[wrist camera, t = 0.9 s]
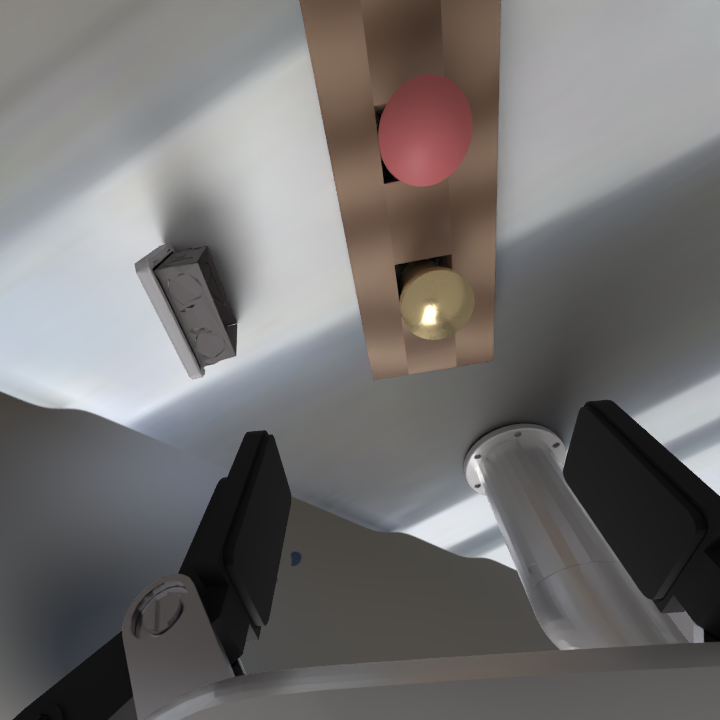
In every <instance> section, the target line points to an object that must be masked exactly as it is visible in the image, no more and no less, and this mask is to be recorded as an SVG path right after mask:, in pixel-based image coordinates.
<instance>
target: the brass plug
mask: <svg viewBox="0 0 720 720" xmlns="http://www.w3.org/2000/svg"><path fill="white" fill-rule="evenodd" d="M400 286H401V289H402V293H401V296H400V302H399V306H400V312H401V315H402V318H403V321H404V323H405V325H406V327H407V328H408V329H409V330H410V331H411V332H412V333H413V334H415V335H416V336H418V337H421V338H424V339H429V340H437V339H443V338H446V337H449V336H451V335H453V334H455V333H456V332H458V331H459V330H460V329H462V328H463V327H464V326H465V324H466V323H467V322H468V320H469V319H470V317H471V315H472V312H473V308H474V294H473V290H472V288H471V286H470V284H469V283H468V282H467V281H466V279H465V278H463V277H462V276H461V275H460V274H459V273H458V272H456V271H455V270H453V269H450V268H447V267H439V266H438V265H437V264H436V263H435V262H434V261H432V260H429V259H423V260H418V261H413V262H411V263H410V264H408V265H407V266H406V267H405V269H404V270H403V272H402V274H401V277H400Z"/></svg>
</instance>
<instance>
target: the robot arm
mask: <svg viewBox="0 0 720 720" xmlns="http://www.w3.org/2000/svg"><path fill="white" fill-rule="evenodd" d="M565 459H566V460H565ZM564 462H565V464H564ZM563 465H564V467H563ZM464 473H465V476H466V479H467V481H468V483H469V484H470V486H471V487H472V488H473V489H474V490H475V491H477V492H479V493H480V494H482V495H485V496H487V498H488V501H489V503H490V506H491V508H492V511H493V513H494V515H495V518H496V520H497V523H498V525H499V528H500V530H501V533H502V535H503V537H504V540H505V542H506V545H507V547H508V550H509V552H510V554H511V557H512V559H513V562H514V564H515V567H516V569H517V571H518V574H519V576H520V579H521V581H522V584H523V586H524V588H525V591H526V593H527V596H528V598H529V600H530V603H531V605H532V607H533V610H534V612H535V615H536V617H537V619H538V621H539V623H540V625H541V627H542V628H543V630H544V631H545V633H546V634H547V635H548V637H549V638H550V640H551V641H552V642H553V643H554V644H555V645H556V646H557V647H558V648H559V649H560V650H558V651H543V652H526V653H511V654H495V655H478V656H463V657H447V658H432V659H418V660H403V661H388V662H374V663H360V664H344V665H333V666H321V667H310V668H298V669H287V670H276V671H268V672H261V673H255V674H248V675H246V673H245V671H244V668H243V666H242V664H241V662H240V659H239V657H240V656H241V655H242V654H243V650H244V646H245V642H246V641H248V640H259V635H260V630H261V626H265V625H266V624H267V623H268V620H269V616H270V611H271V606H272V600H273V595H274V590H275V585H276V579H277V574H278V569H279V563H280V558H281V553H282V548H283V542H284V537H285V532H286V526H287V522H288V516H289V511H290V506H291V492H290V489H289V485H288V482H287V479H286V475H285V472H284V469H283V465H282V462H281V459H280V455H279V452H278V449H277V445H276V442H275V439H274V436H273V435H268V433H267V431H265V430H264V431H252V432H247V433H246V434H245V436H244V438H243V441H242V443H241V446H240V448H239V450H238V453H237V455H236V458H235V460H234V462H233V465H232V467H231V470H230V472H229V475H228V477H225V478H222V479H221V480H220V481H219V482H218V484H217V486H216V488H215V491H214V493H213V495H212V497H211V500H210V502H209V505H208V507H207V509H206V511H205V514H204V516H203V518H202V521H201V523H200V525H199V527H198V529H197V532H196V534H195V536H194V539H193V541H192V543H191V545H190V548H189V550H188V553H187V555H186V557H185V559H184V562H183V564H182V566H181V568H180V571H179V573H178V574H171V575H168V576H164V577H162V578H160V579H159V580H156V581H155V582H153V583H152V584H150V585H149V586H148V587H147V588H146V589H144V590H143V591H142V592H141V593H140V594H139V596H138V597H137V598H136V599H135V600H134V601H133V603H132V605H131V606H130V608H129V610H128V611H127V613H126V616H125V619H124V622H123V625H122V631H121V632H120V633H119V634H117V635H116V636H115V637H114V638H113V639H111V640H110V641H109V642H108V643H106V644H105V645H104V646H103V647H101V648H100V649H99V650H97V651H96V652H95V653H94V654H92V655H91V656H90V657H89V658H87V659H86V660H85V661H84V662H83V663H81V664H80V665H79V666H77V667H76V668H75V669H74V670H73V671H71V672H70V673H69V674H67V675H66V676H65V677H64V678H63V679H61V680H60V681H59V682H58V683H56V684H55V685H54V686H53V687H51V688H50V689H49V690H48V691H46V692H45V693H44V694H43V695H41V696H40V697H39V698H38V699H36V700H35V701H34V702H33V703H31V704H30V705H29V706H28V707H26V708H25V709H24V710H23V711H22V712H21V713H20V714H18V715H17V716H16V717H15V718H14V719H13V720H720V496H719V495H718V494H717V493H715V492H714V491H713V490H712V489H711V488H710V487H709V486H708V485H706V484H705V483H704V482H703V481H702V480H701V479H700V478H699V477H697V476H696V475H695V474H694V473H693V472H692V471H691V470H690V469H688V468H687V467H686V466H685V465H684V464H683V463H682V462H681V461H679V460H678V459H677V458H676V457H675V456H674V455H673V454H672V453H670V452H669V451H668V450H667V449H666V448H665V447H664V446H663V445H662V444H660V443H659V442H658V441H657V440H656V439H655V438H654V437H653V436H651V435H650V434H649V433H648V432H647V431H646V430H645V429H644V428H642V427H641V426H640V425H639V424H638V423H637V422H636V421H635V420H633V419H632V418H631V417H630V416H629V415H628V414H627V413H626V412H624V411H623V410H622V409H621V408H620V407H619V406H618V405H617V404H615V403H614V402H613V401H611V400H601V401H590V402H587V403H586V404H585V406H584V407H582V408H580V410H579V413H578V417H577V421H576V424H575V428H574V431H573V435H572V439H571V442H570V446H569V449H568V453H567V457H566V450H565V447H564V444H563V443H562V441H561V440H560V439H559V437H558V436H557V435H556V434H555V433H554V432H553V431H551V430H550V429H548V428H546V427H543V426H540V425H535V424H515V425H509V426H506V427H502V428H499V429H497V430H494V431H492V432H490V433H489V434H487V435H485V436H484V437H482V438H481V439H480V440H479V441H477V442H476V443H475V444H474V445H473V446H472V448H471V449H470V450H469V452H468V454H467V455H466V458H465V461H464ZM684 611H686V612H687V613H688V615H689V616H690V617H691V619H692V620H693V621H694V643H690V642H689V641H688V640H687V639H686V637H685V636H684V635H683V633H682V632H681V631H680V629H679V628H678V627H677V625H676V624H675V623H674V621H673V620H672V619H671V617H670V616H669V615H668V613H673V612H684Z"/></svg>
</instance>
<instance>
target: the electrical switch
mask: <svg viewBox="0 0 720 720" xmlns="http://www.w3.org/2000/svg"><path fill="white" fill-rule="evenodd" d="M208 264H209V265H208ZM135 269H136V273H137V275H138V277H139V279H140V281H141V283H142V285H143V287H144V289H145V291H146V293H147V295H148V297H149V299H150V301H151V303H152V305H153V307H154V309H155V311H156V312H157V314H158V316H159V318H160V320H161V322H162V324H163V326H164V328H165V330H166V332H167V334H168V336H169V338H170V340H171V342H172V344H173V346H174V348H175V350H176V352H177V354H178V356H179V358H180V360H181V362H182V364H183V366H184V367H185V369H186V371H187V373H188V375H189V377H190V378H191V379H197V378H201V377H203V376H204V374H205V370H204V367H205V366H207V365H212V364H215V363H217V362H219V361H221V360H224V359H227V358H231V357H234V356H236V345H237V324H236V320H235V317H234V315H233V312H232V310H231V307H230V305H229V302H228V299H227V297H226V294H225V292H224V289H223V287H222V284H221V282H220V279H219V276H218V274H217V271H216V269H215V266H214V264H213V261H212V258H211V256H210V253H209V251H208V248H207V246H204V247H200V248H196V249H192V248H188V249H186V250H182V251H177V252H175V249H174V247H173V246H172V245H171V243H168V244H165V245H161V246H159V247H158V248H156V249H155V250H153V251H152V252H151V253H149V254H148V255H146V256H145V257H144V258H142V259H141V260H139V261H138V262H137V263H135ZM210 275H211V277H210ZM207 280H208V281H207ZM206 281H207V282H206ZM214 299H215V300H214ZM224 304H225V305H224ZM223 317H224V318H223ZM233 324H235V325H233ZM229 325H231V326H229Z"/></svg>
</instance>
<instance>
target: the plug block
mask: <svg viewBox="0 0 720 720" xmlns="http://www.w3.org/2000/svg"><path fill="white" fill-rule="evenodd" d="M300 6H301V11H302V16H303V21H304V26H305V31H306V36H307V42H308V47H309V52H310V57H311V62H312V67H313V72H314V78H315V83H316V88H317V93H318V98H319V103H320V108H321V114H322V119H323V124H324V129H325V134H326V139H327V144H328V150H329V155H330V160H331V165H332V170H333V175H334V180H335V186H336V191H337V196H338V201H339V206H340V211H341V216H342V222H343V227H344V232H345V237H346V242H347V247H348V252H349V258H350V263H351V268H352V273H353V278H354V283H355V288H356V294H357V299H358V304H359V309H360V314H361V319H362V324H363V330H364V335H365V340H366V345H367V350H368V355H369V360H370V366H371V371H372V376H373V380H379V379H385V378H391V377H397V376H403V375H409V374H415V373H421V372H427V371H433V370H439V369H446V368H452V367H458V366H464V365H470V364H476V363H482V362H488V361H493V348H494V300H495V252H496V204H497V156H498V108H499V60H500V12H501V0H300ZM426 74H435V75H440V76H443V77H446V78H448V79H449V80H451V81H453V82H454V83H455V84H456V85H457V86H458V87H459V88H460V89H461V90H462V92H463V93H464V95H465V96H466V98H467V101H468V103H469V106H470V109H471V114H472V124H473V125H472V136H471V141H470V145H469V148H468V151H467V153H466V155H465V157H464V159H463V161H462V162H461V164H460V165H459V166H458V168H457V169H456V170H455V171H454V172H453V173H452V174H451V175H450V176H449V177H447V178H446V179H444V180H443V181H441V182H439V183H437V184H434V185H430V186H424V187H420V186H412V185H409V184H406V183H404V182H402V181H400V180H398V179H397V178H393V179H388V180H383V172H382V164H381V157H380V151H379V146H378V133H377V126H376V118H375V115H378V114H382V113H383V111H384V109H385V107H386V105H387V103H388V101H389V100H390V98H391V97H392V95H393V94H394V93H395V92H396V90H397V89H398V88H399V87H400V86H402V85H403V84H404V83H406V82H407V81H408V80H410V79H412V78H414V77H417V76H420V75H426ZM434 257H438V262H439V267H447V268H450V269H453V270H455V271H456V272H458V273H459V274H460V275H461V276H462V277H463V278H465V279H466V281H467V282H468V283H469V284H470V286H471V288H472V290H473V294H474V308H473V312H472V315H471V317H470V319H469V320H468V322H467V323H466V324H465V326H464V327H463V328H462V329H460V330H459V331H458V332H456V333H455V334H453V335H451V336H449V337H446V338H443V339H437V340H429V339H424V338H421V337H418V336H416V335H415V334H413V333H412V332H411V331H410V330H409V329H408V328H407V327H406V325H405V323H404V321H403V318H402V315H401V312H400V306H399V302H400V296H398V288H397V280H396V273H395V265H397V264H402V263H407V262H413V261H418V260H423V259H429V258H434Z"/></svg>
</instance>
